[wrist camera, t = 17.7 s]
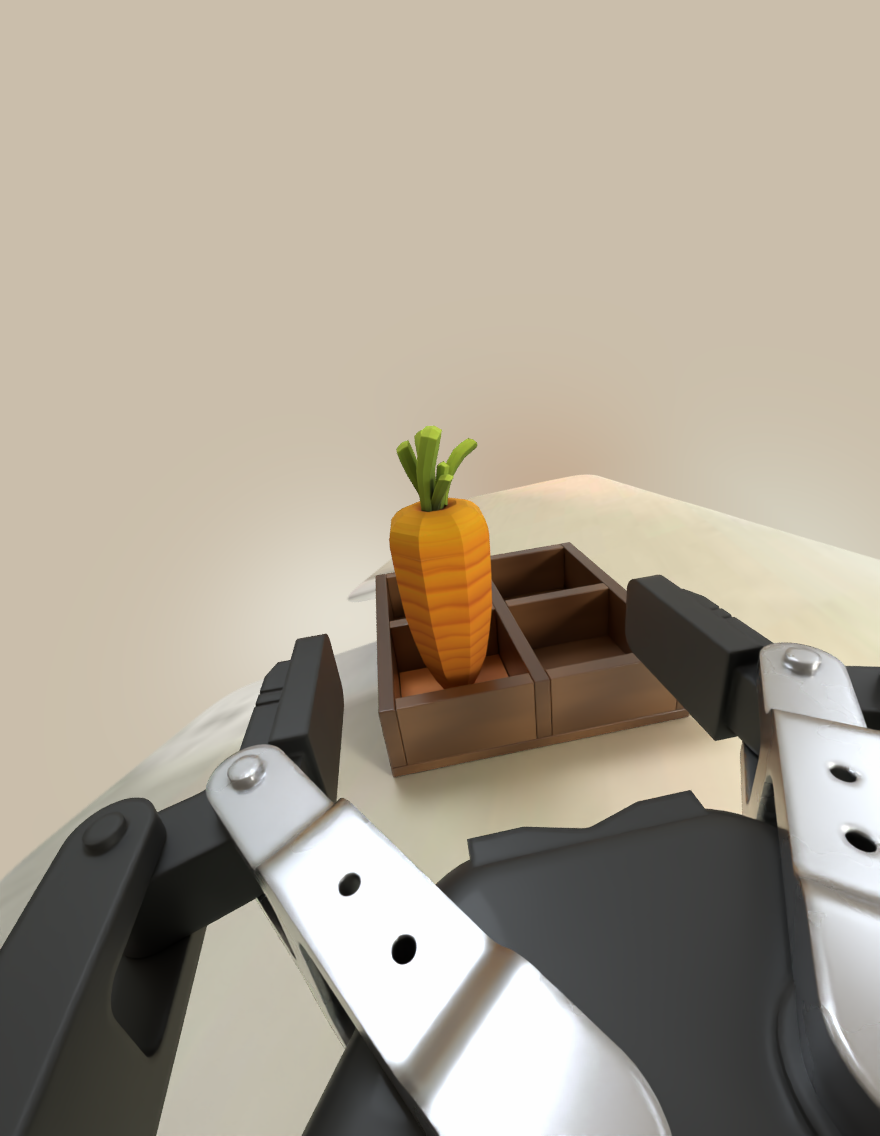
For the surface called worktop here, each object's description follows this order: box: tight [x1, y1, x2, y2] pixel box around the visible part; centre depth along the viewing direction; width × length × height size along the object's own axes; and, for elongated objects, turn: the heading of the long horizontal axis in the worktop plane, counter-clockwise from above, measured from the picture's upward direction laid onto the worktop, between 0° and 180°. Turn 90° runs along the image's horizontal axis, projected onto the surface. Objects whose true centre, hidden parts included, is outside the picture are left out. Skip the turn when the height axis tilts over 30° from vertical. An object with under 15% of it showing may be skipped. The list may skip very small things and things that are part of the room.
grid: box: [376, 542, 689, 777], centre depth 29 cm, size 15×15×4 cm
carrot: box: [389, 426, 492, 689], centre depth 23 cm, size 5×5×15 cm
